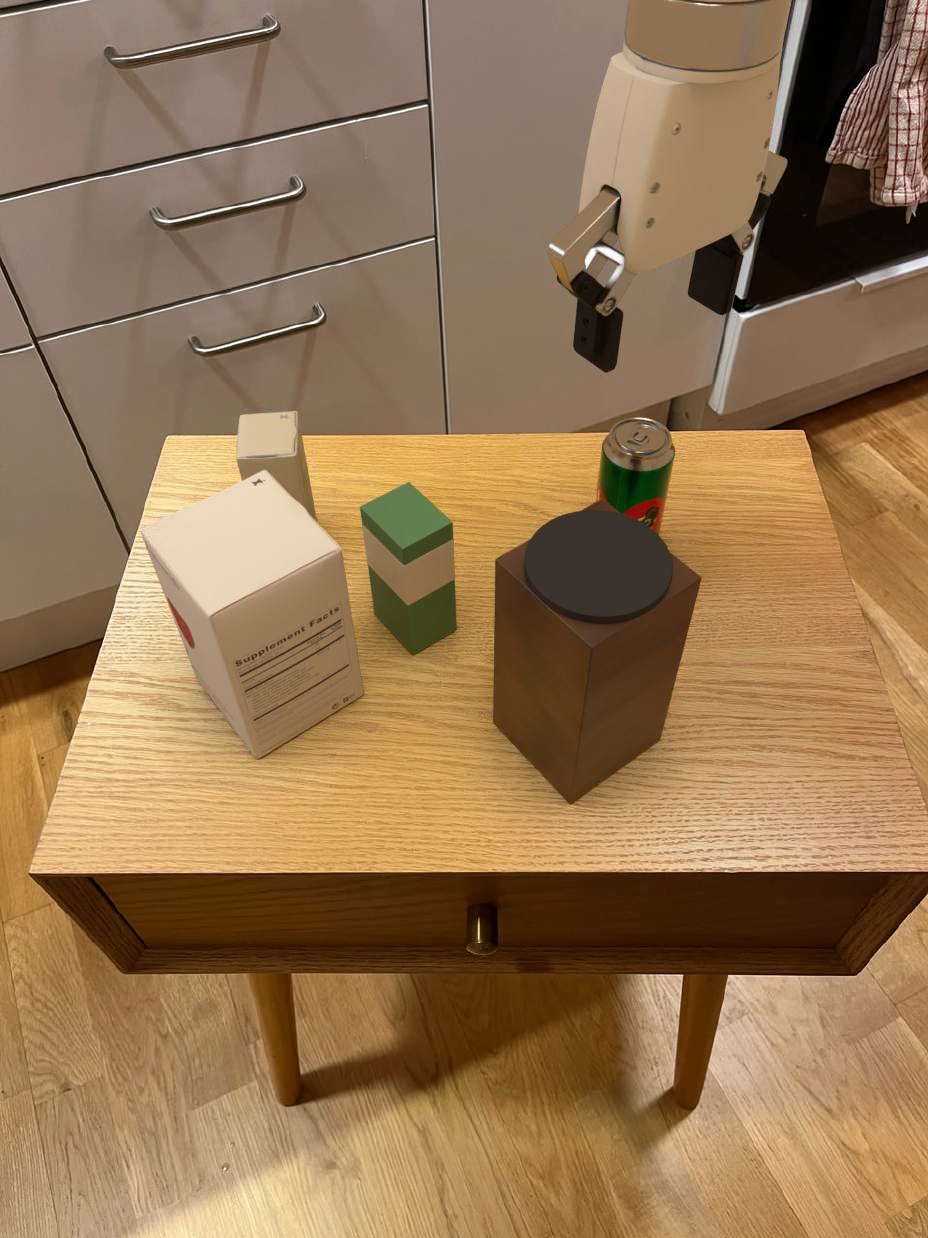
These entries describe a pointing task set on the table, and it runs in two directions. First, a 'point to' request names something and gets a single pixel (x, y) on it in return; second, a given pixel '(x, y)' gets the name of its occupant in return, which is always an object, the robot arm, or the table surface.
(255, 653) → the rectangular carton
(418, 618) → the block
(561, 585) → the coaster
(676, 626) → the pedestal
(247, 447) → the box
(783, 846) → the table surface
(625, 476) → the soda can
